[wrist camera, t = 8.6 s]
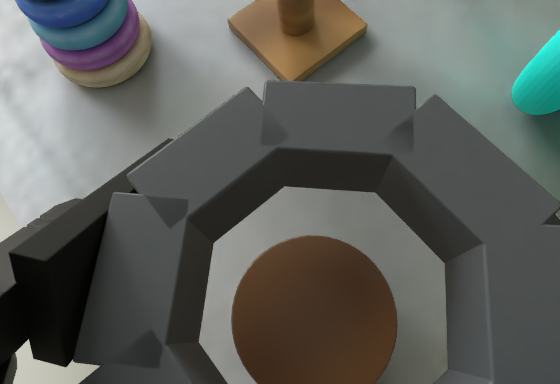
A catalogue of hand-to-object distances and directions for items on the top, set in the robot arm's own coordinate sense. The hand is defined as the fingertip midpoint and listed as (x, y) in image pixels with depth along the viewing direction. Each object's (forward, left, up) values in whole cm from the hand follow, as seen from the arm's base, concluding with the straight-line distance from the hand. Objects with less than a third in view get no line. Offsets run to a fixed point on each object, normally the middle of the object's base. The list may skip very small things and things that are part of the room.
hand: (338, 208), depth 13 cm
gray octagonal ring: (-2, +2, +2) cm, 4 cm away
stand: (-2, +3, -15) cm, 16 cm away
